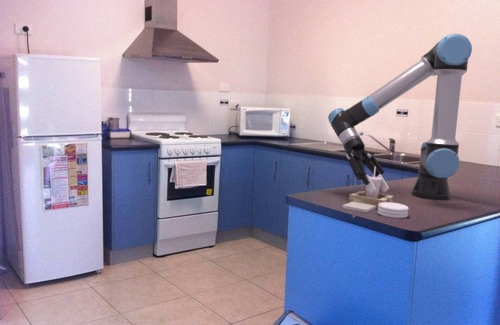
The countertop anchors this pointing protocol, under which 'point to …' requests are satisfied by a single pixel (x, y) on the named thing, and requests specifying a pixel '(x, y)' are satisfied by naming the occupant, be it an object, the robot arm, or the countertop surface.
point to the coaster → (393, 210)
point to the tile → (359, 207)
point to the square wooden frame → (361, 198)
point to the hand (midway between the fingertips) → (379, 190)
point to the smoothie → (376, 182)
